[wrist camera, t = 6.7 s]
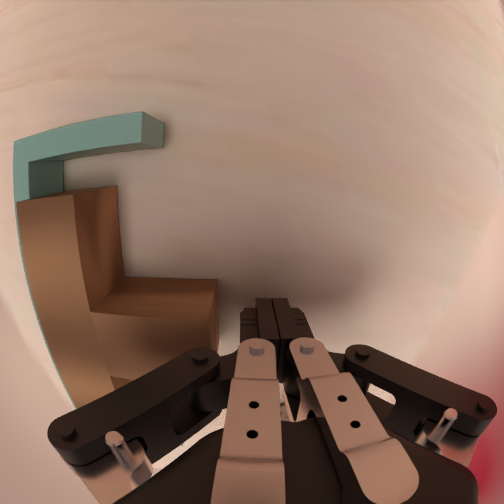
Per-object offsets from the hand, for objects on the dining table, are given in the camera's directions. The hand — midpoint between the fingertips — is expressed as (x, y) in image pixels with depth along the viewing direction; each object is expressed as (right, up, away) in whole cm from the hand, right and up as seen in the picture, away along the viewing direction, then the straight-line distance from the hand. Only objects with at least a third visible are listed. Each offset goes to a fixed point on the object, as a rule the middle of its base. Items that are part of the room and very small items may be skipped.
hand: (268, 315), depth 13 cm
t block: (-7, 0, +1) cm, 7 cm away
